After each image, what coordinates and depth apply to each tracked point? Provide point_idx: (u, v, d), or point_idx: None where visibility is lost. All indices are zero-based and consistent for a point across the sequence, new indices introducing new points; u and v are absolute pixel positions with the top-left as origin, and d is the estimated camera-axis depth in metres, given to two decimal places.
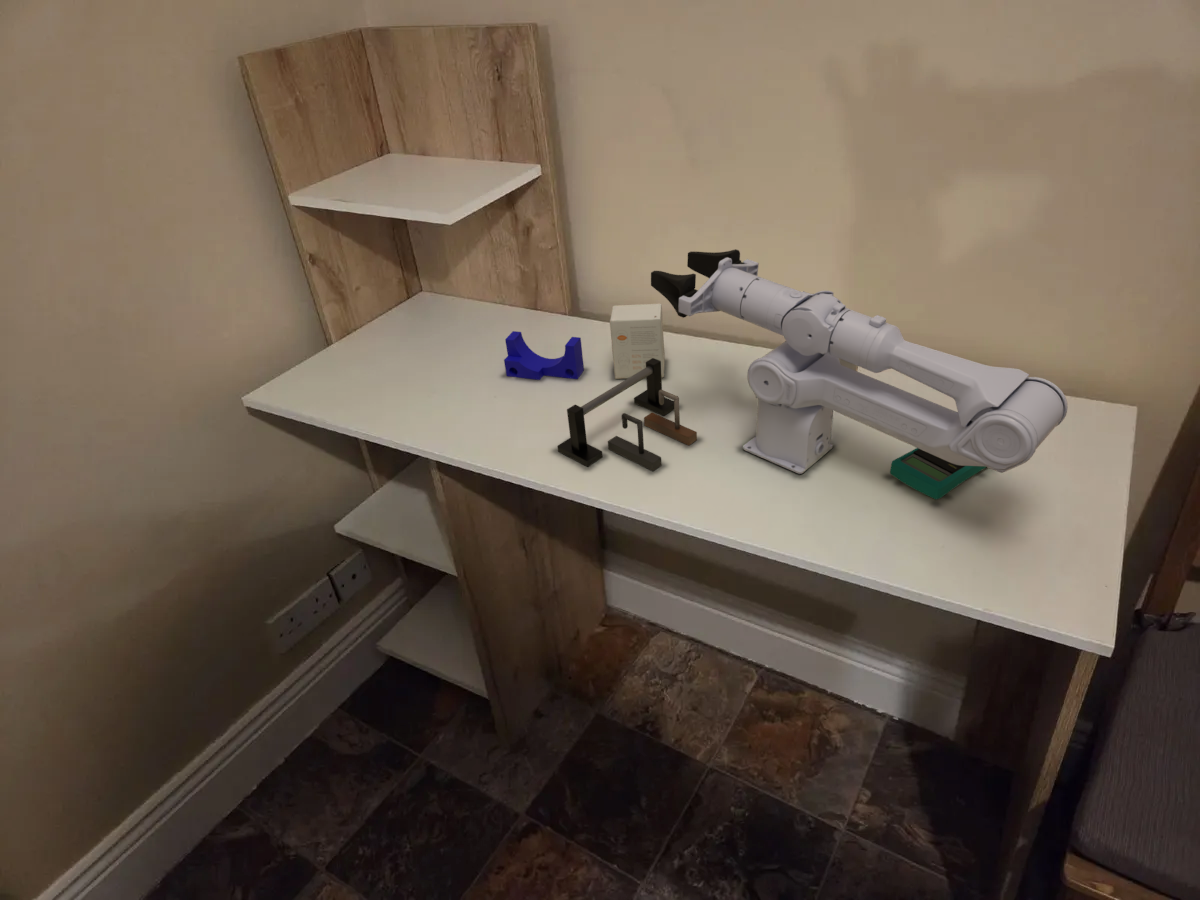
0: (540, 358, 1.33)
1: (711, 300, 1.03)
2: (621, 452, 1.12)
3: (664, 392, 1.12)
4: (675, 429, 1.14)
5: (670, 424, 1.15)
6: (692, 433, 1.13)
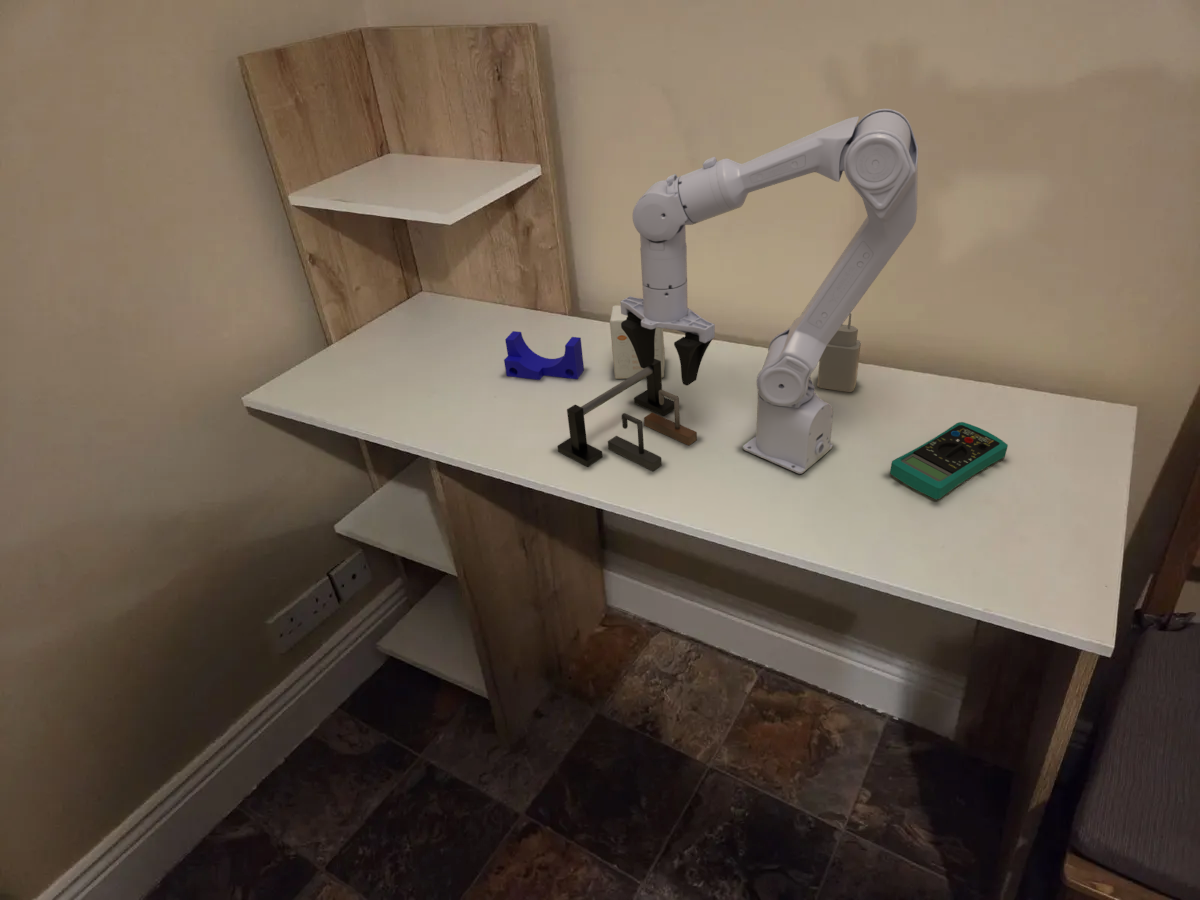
0: (540, 358, 1.33)
1: (685, 316, 1.03)
2: (621, 452, 1.12)
3: (664, 392, 1.12)
4: (675, 429, 1.14)
5: (670, 424, 1.15)
6: (692, 433, 1.13)
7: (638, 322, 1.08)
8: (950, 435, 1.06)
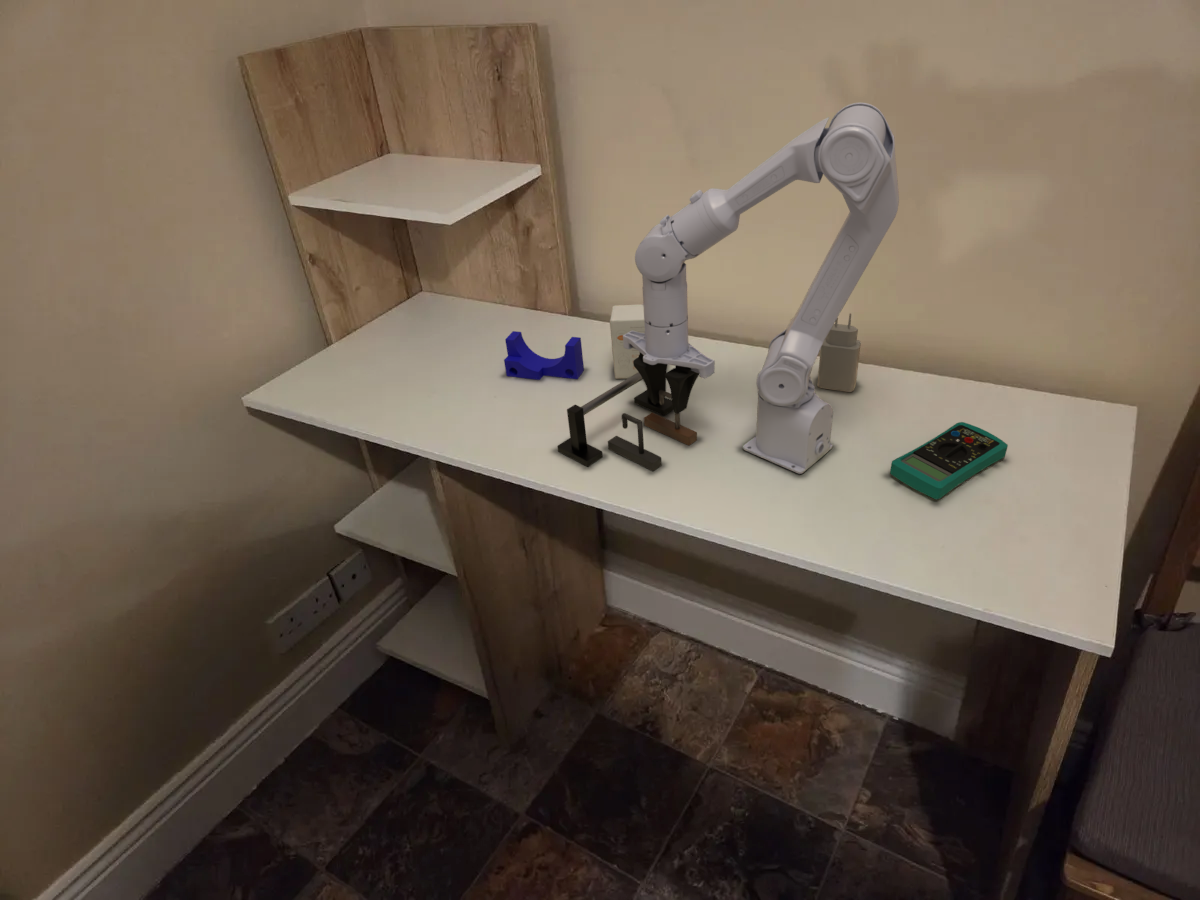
0: (540, 358, 1.33)
1: (686, 352, 1.06)
2: (621, 452, 1.12)
3: (664, 392, 1.12)
4: (675, 429, 1.14)
5: (670, 424, 1.15)
6: (692, 433, 1.13)
7: None
8: (950, 435, 1.06)
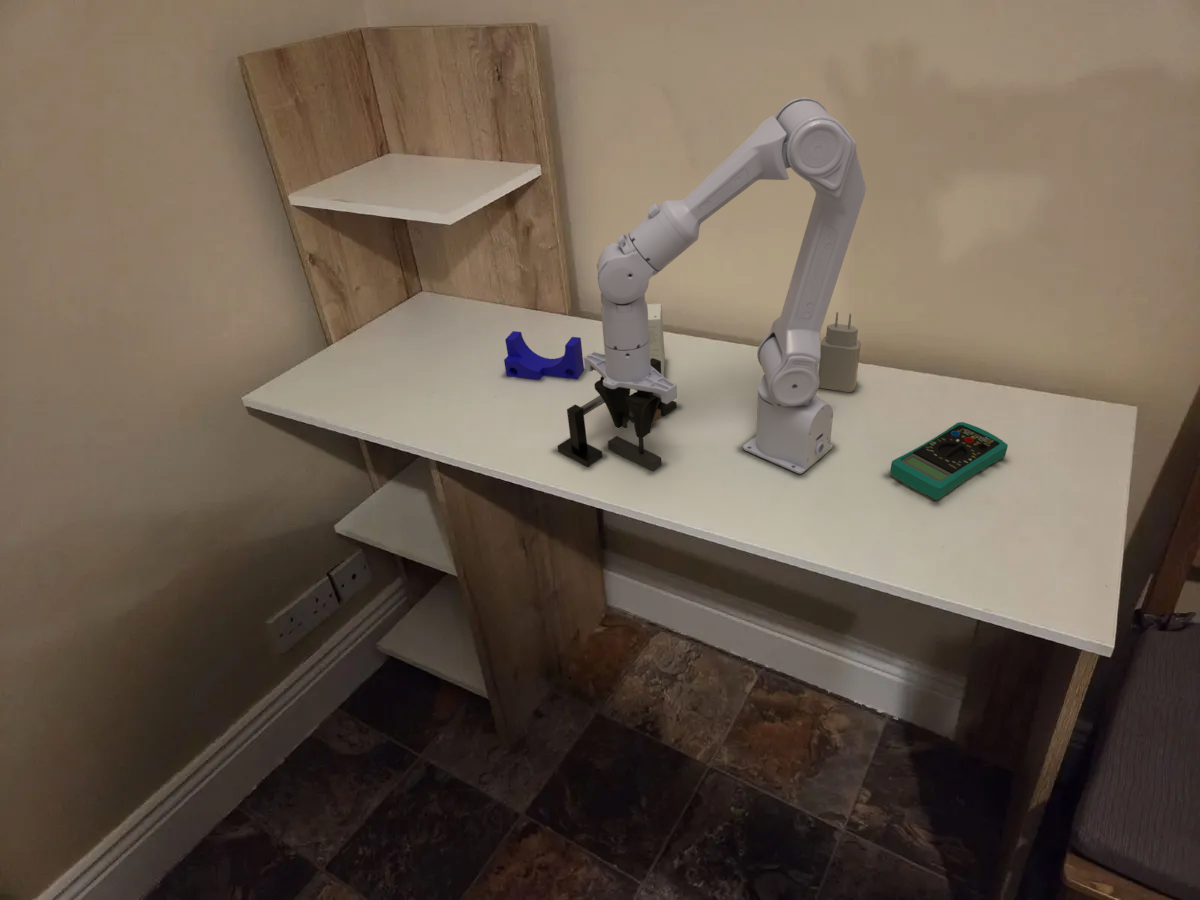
0: (540, 358, 1.33)
1: (648, 375, 1.02)
2: (621, 452, 1.12)
3: None
4: None
5: None
6: (656, 411, 1.16)
7: None
8: (950, 435, 1.06)
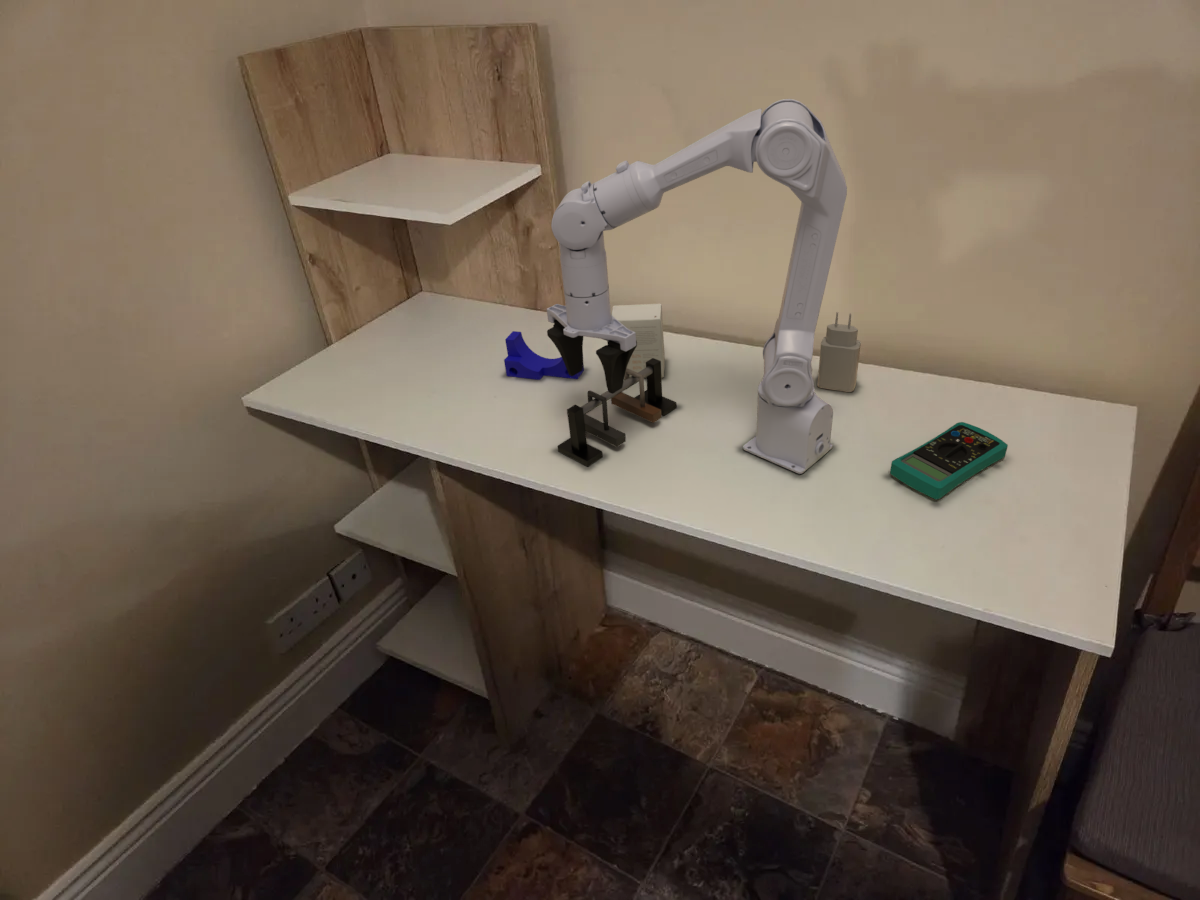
0: (540, 358, 1.33)
1: (608, 324, 1.03)
2: (587, 428, 1.15)
3: (629, 371, 1.15)
4: (640, 407, 1.17)
5: (636, 402, 1.18)
6: (657, 411, 1.16)
7: None
8: (950, 435, 1.06)
